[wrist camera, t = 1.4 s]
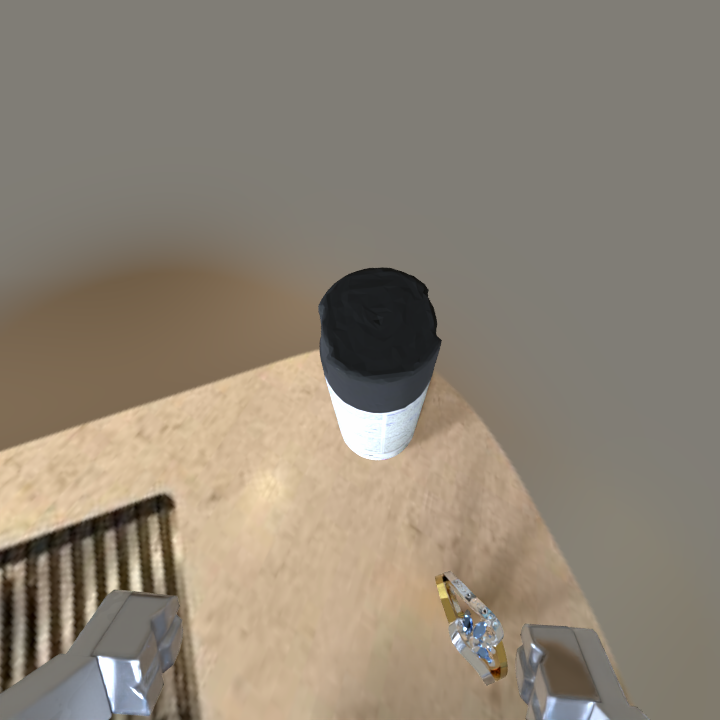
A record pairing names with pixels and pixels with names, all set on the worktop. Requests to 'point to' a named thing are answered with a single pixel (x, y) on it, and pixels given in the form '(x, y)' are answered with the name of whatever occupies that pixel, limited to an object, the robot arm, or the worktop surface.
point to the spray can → (378, 357)
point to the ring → (473, 629)
